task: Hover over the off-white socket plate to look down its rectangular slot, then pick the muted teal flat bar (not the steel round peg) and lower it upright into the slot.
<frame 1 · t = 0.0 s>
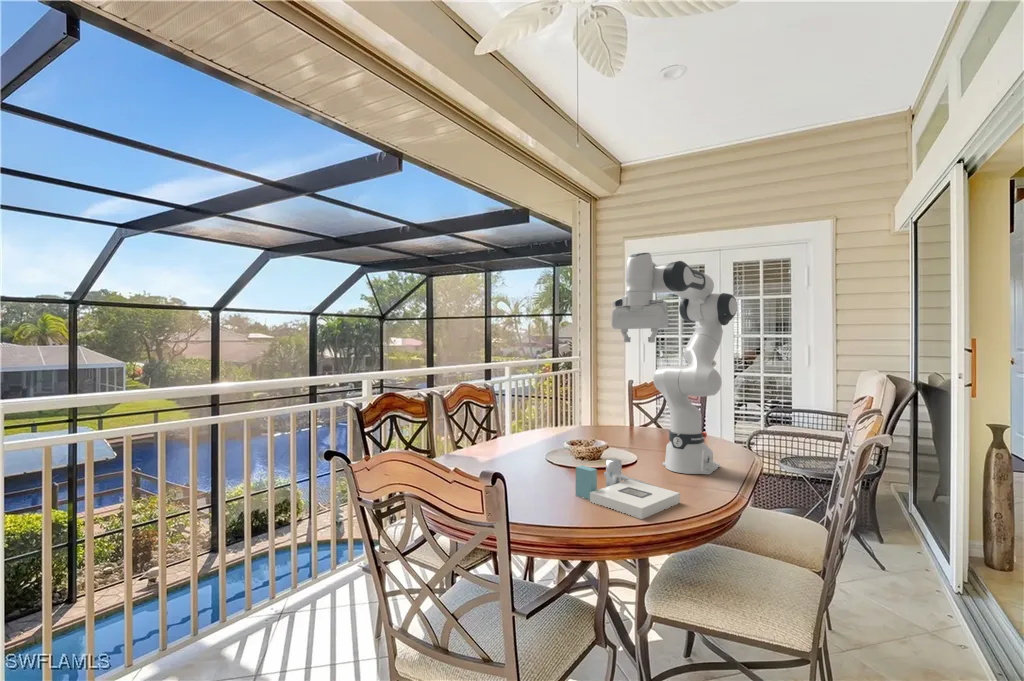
hand: (639, 342, 161), 48 cm above the table, tool pointing down, fingers open, 8 cm apart
flat bar: (586, 497, 149), on the table
round peg: (613, 487, 158), on the table
adjustable wrench: (630, 484, 164), on the table
socket plate: (634, 502, 144), on the table
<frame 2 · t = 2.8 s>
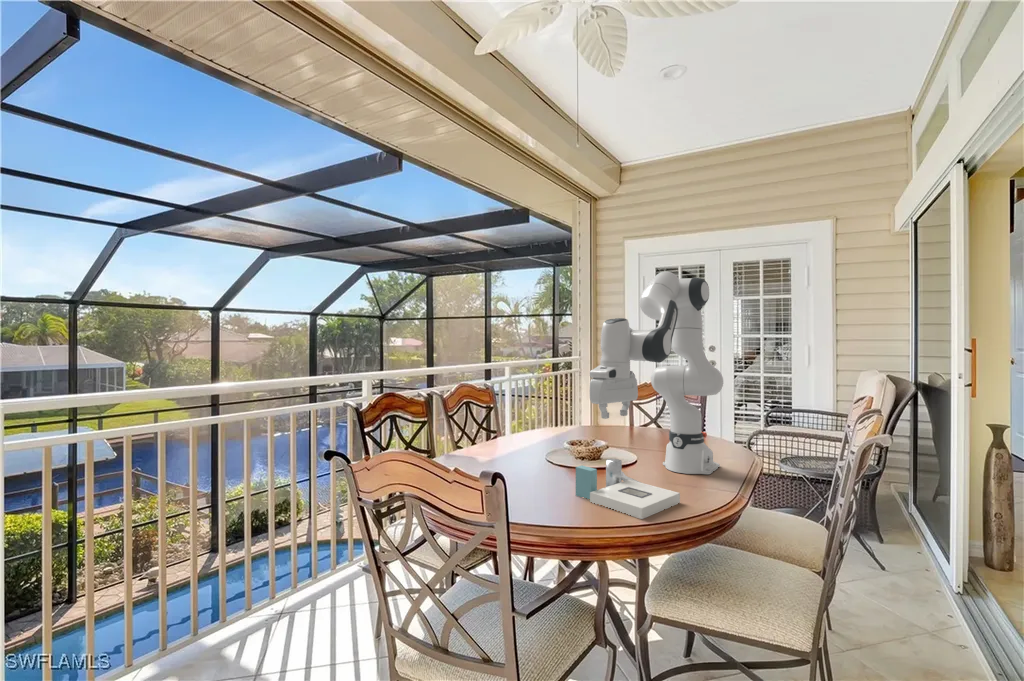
hand: (614, 417, 145), 25 cm above the table, tool pointing down, fingers open, 8 cm apart
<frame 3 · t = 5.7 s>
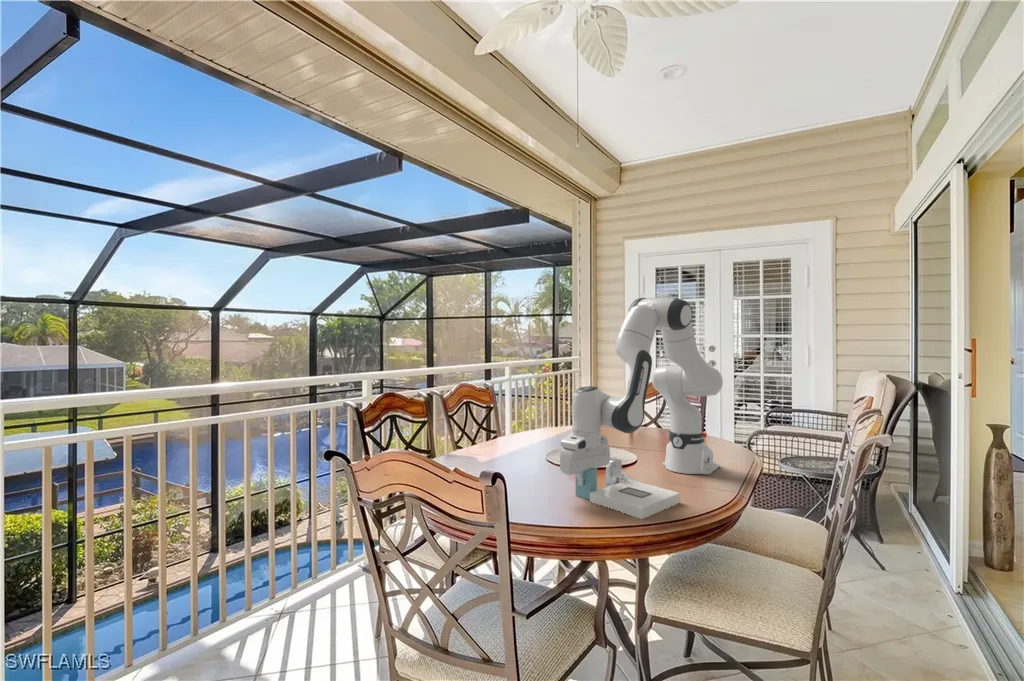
hand: (586, 483, 149), 4 cm above the table, tool pointing down, fingers closed on flat bar, 3 cm apart
flat bar: (586, 496, 149), on the table, touching gripper
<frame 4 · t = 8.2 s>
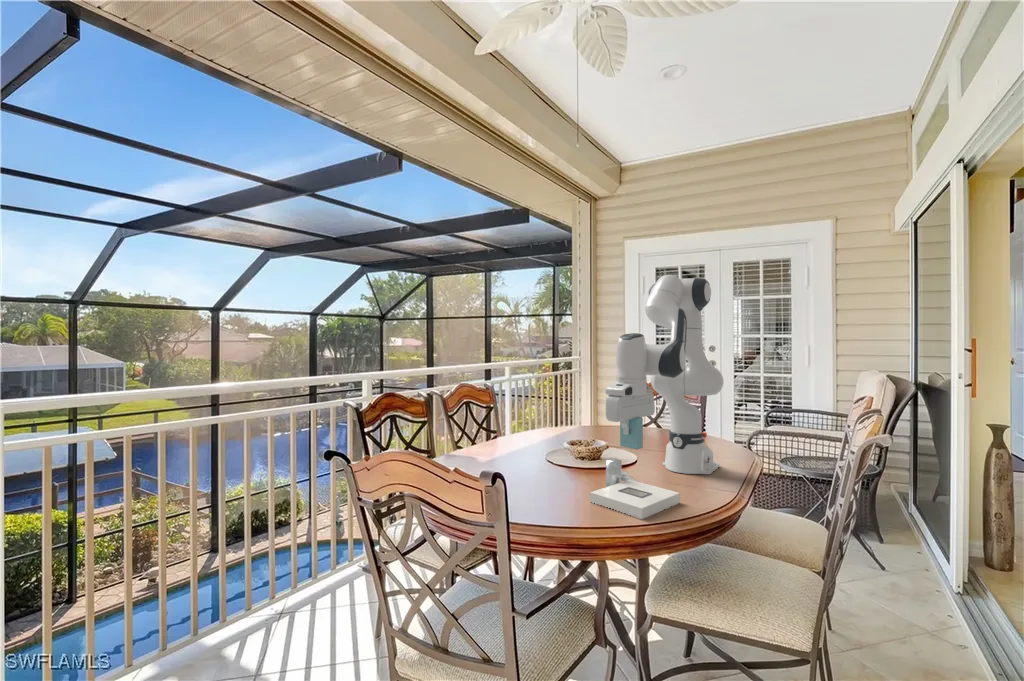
hand: (631, 433, 144), 21 cm above the table, tool pointing down, fingers closed on flat bar, 3 cm apart
flat bar: (631, 447, 144), point 17 cm above the table, touching gripper
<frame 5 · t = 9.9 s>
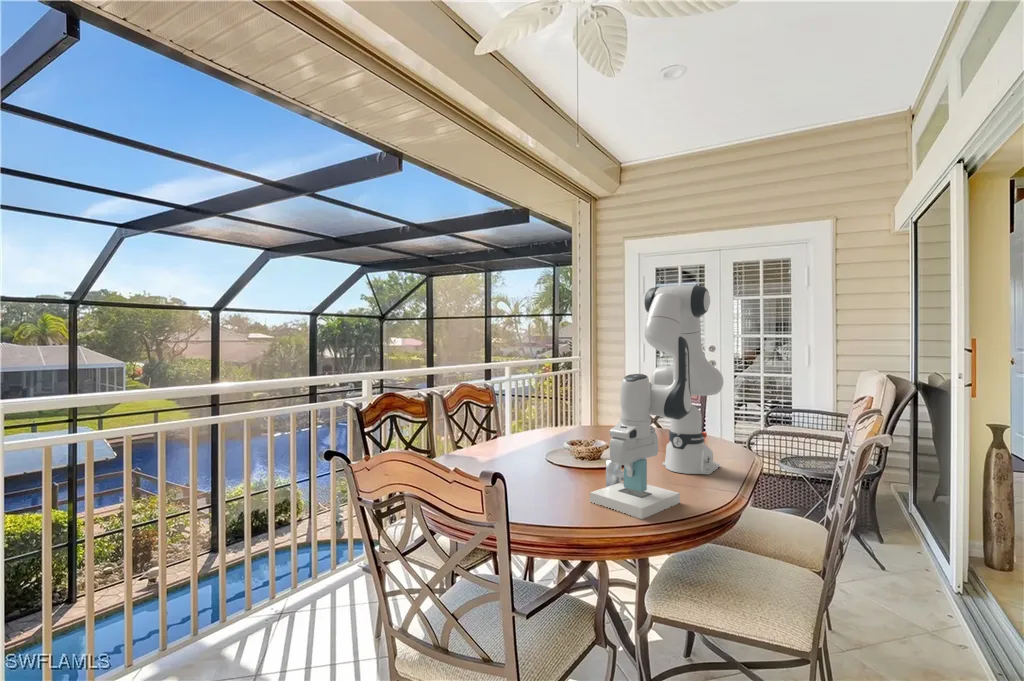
hand: (635, 474, 144), 8 cm above the table, tool pointing down, fingers closed on flat bar, 3 cm apart
flat bar: (635, 488, 144), point 4 cm above the table, touching gripper
when the fingers open (6 cm above the table, at t = 11.1 s): flat bar drops 1 cm, resting in socket plate.
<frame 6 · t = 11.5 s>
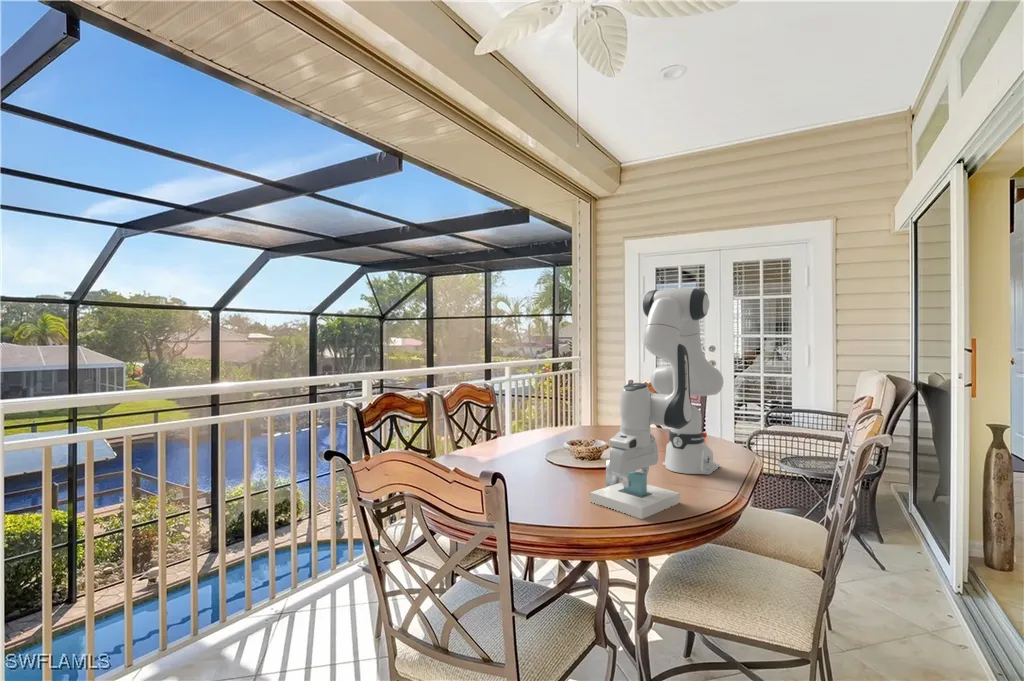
hand: (635, 484, 144), 6 cm above the table, tool pointing down, fingers open, 7 cm apart
flat bar: (635, 502, 144), resting in socket plate
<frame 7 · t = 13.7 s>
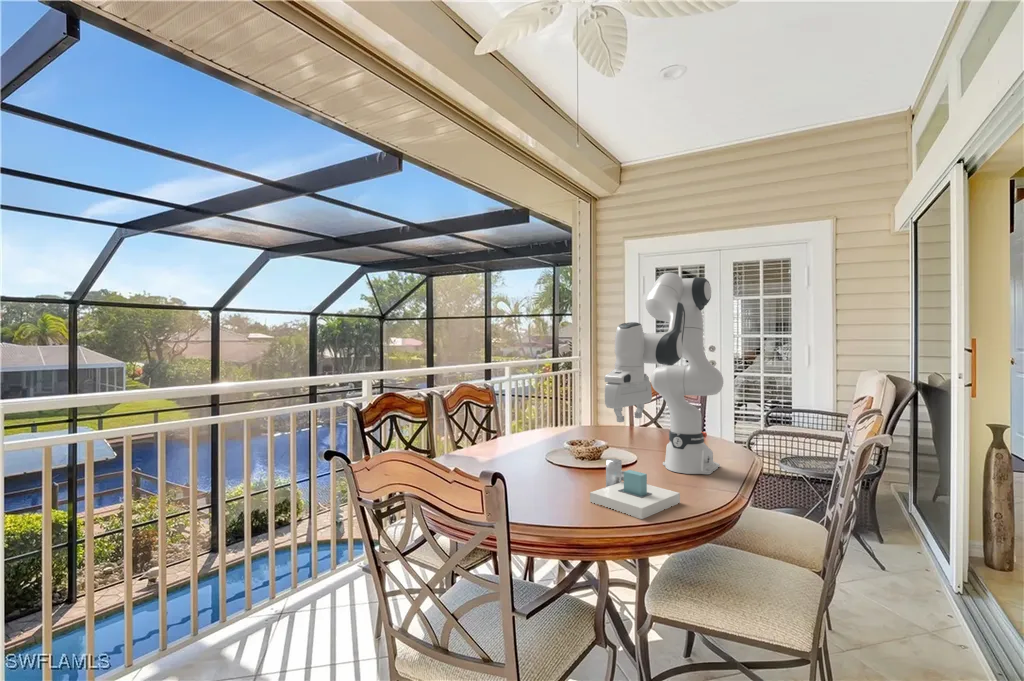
hand: (629, 419, 148), 24 cm above the table, tool pointing down, fingers open, 8 cm apart
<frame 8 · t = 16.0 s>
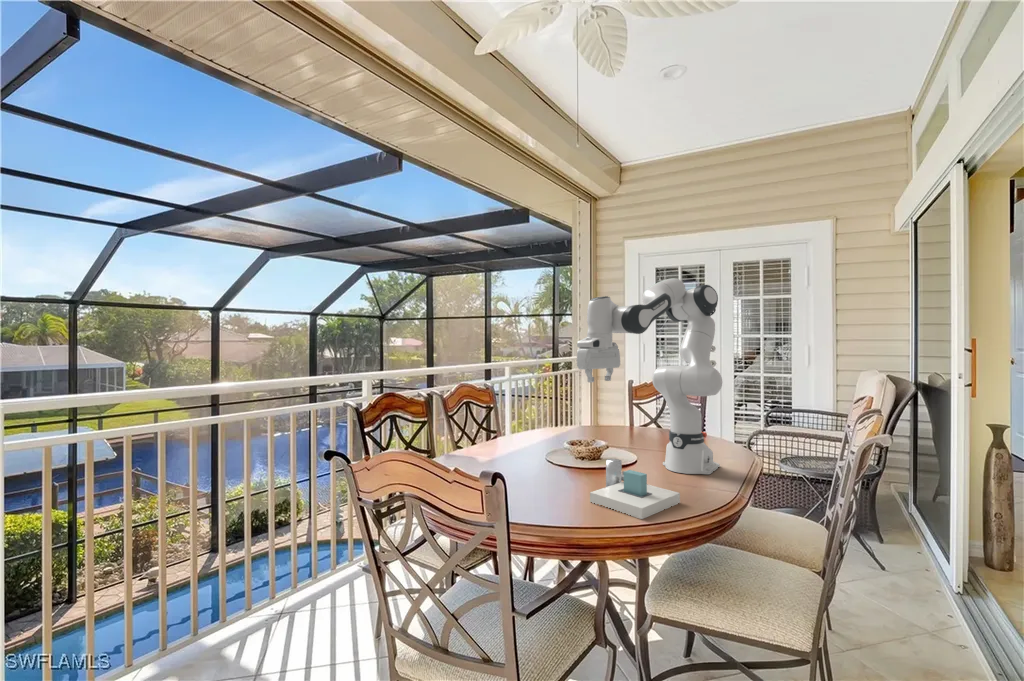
hand: (599, 381, 169), 34 cm above the table, tool pointing down, fingers open, 8 cm apart
at the end: flat bar 0.1 cm off-centre on the socket plate, point 0.0 cm above the socket plate's base; flat bar tilted 0°; the gripper is holding nothing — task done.
